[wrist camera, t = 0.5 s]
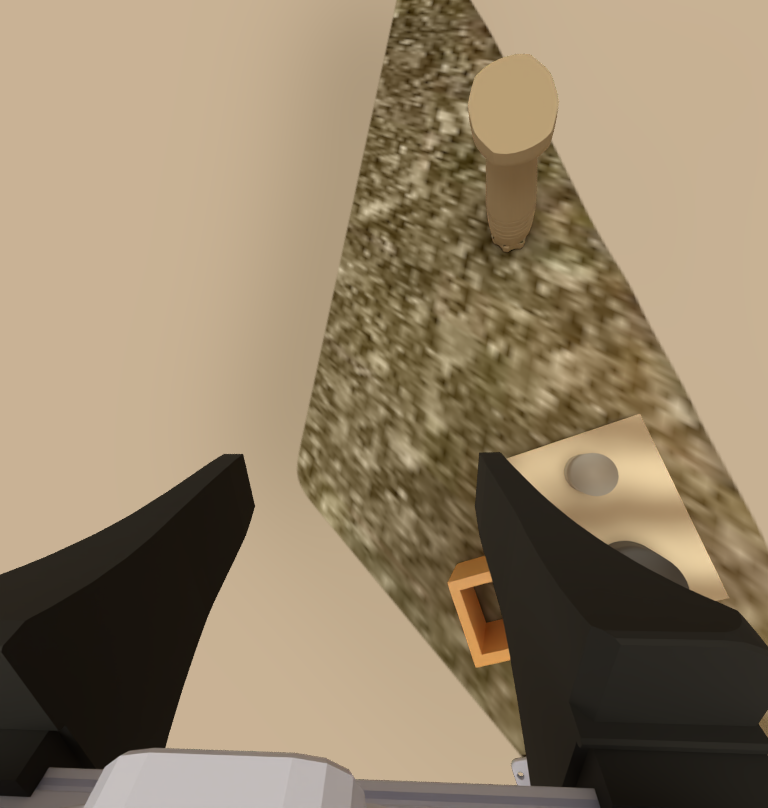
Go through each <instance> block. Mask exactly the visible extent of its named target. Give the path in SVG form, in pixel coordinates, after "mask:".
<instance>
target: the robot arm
mask: <svg viewBox="0 0 768 808" xmlns="http://www.w3.org/2000/svg"><path fill="white" fill-rule="evenodd" d="M254 508H255V504H254V500H253V496H252V491H251V487H250V482H249V478H248V474H247V469H246V465H245V460H244V456H243V454H224V455H222V456H220V457H218V458H217V459H215V460H213V461H212V462H210V463H209V464H207V465H206V466H204V467H203V468H202V469H200V470H199V471H197V472H196V473H194V474H193V475H191V476H190V477H188V478H187V479H185V480H184V481H183V482H181V483H180V484H178V485H177V486H175V487H174V488H172V489H171V490H169V491H168V492H166V493H165V494H163V495H161V496H160V497H158V498H157V499H155V500H153V501H152V502H150V503H149V504H147V505H146V506H144V507H142V508H141V509H139V510H138V511H136V512H134V513H133V514H131V515H129V516H128V517H126V518H124V519H122V520H120V521H119V522H117V523H115V524H113V525H111V526H109V527H107V528H105V529H104V530H102V531H100V532H98V533H96V534H94V535H92V536H90V537H88V538H86V539H83V540H81V541H79V542H77V543H75V544H73V545H70V546H68V547H66V548H64V549H62V550H60V551H58V552H55V553H54V554H51V555H49V556H46V557H44V558H41V559H39V560H37V561H34V562H32V563H29V564H27V565H25V566H22V567H19V568H16V569H14V570H11V571H9V572H6V573H3V574H1V575H0V808H768V755H767V754H768V737H767V736H766V735H765V733H764V732H763V730H762V729H761V727H760V726H759V724H758V723H759V722H760V720H761V719H762V717H763V716H764V714H765V713H766V711H767V710H768V646H767V645H766V644H765V642H764V641H763V640H762V639H761V637H760V636H759V635H758V634H757V632H756V631H755V630H754V629H753V628H752V627H751V625H750V624H749V623H748V622H747V621H746V619H745V618H744V617H743V616H742V615H741V614H740V613H739V612H738V611H737V610H735V609H732V608H730V607H728V606H726V605H723V604H721V603H719V602H717V601H714V600H712V599H710V598H708V597H705V596H703V595H701V594H699V593H696V592H694V591H692V590H690V589H687V588H685V587H683V586H681V585H679V584H677V583H675V582H673V581H671V580H669V579H667V578H665V577H663V576H662V575H660V574H658V573H656V572H654V571H652V570H650V569H648V568H646V567H645V566H643V565H641V564H639V563H637V562H636V561H634V560H632V559H630V558H629V557H627V556H626V555H624V554H622V553H621V552H619V551H617V550H616V549H614V548H612V547H611V546H609V545H608V544H606V543H604V542H603V541H601V540H600V539H598V538H597V537H595V536H594V535H593V534H591V533H590V532H588V531H587V530H586V529H584V528H583V527H581V526H580V525H579V524H577V523H576V522H575V521H573V520H572V519H571V518H569V517H568V516H567V515H566V514H564V513H563V512H562V511H561V510H560V509H558V508H557V507H556V506H555V505H554V504H552V503H551V502H550V501H549V500H548V499H547V498H546V497H544V496H543V495H542V494H541V493H540V492H539V491H538V490H537V489H536V488H535V487H534V486H533V485H532V484H531V483H530V482H529V481H528V480H527V479H526V478H525V477H524V476H523V475H522V474H521V473H520V472H519V471H518V470H517V469H516V468H515V467H514V466H513V465H512V464H511V463H510V462H509V461H508V460H507V459H506V458H505V457H504V456H503V455H502V454H501V453H500V452H493V453H479V464H478V476H477V489H476V501H475V509H476V516H477V523H478V529H479V535H480V539H481V543H482V547H483V550H484V554H485V557H486V561H487V564H488V568H489V571H490V574H491V578H492V581H493V585H494V588H495V592H496V595H497V599H498V602H499V605H500V610H501V614H502V618H503V622H504V627H505V633H506V638H507V643H508V649H509V654H510V660H511V665H512V671H513V677H514V683H515V689H516V694H517V700H518V707H519V713H520V719H521V726H522V732H523V738H524V744H525V751H526V757H521V758H516V759H514V760H513V761H512V771H513V774H514V777H515V779H516V783H517V785H493V784H467V783H440V782H416V781H414V782H413V781H389V780H364V779H355V778H354V776H353V775H352V773H351V772H350V771H349V769H347V768H345V767H343V766H340V765H339V764H337V763H335V762H332V761H330V760H329V759H327V758H323V757H317V756H311V755H305V754H299V753H285V752H256V751H228V750H200V749H199V750H198V749H170V748H165V747H166V743H167V739H168V735H169V732H170V729H171V726H172V722H173V719H174V715H175V712H176V709H177V705H178V702H179V699H180V695H181V693H182V689H183V686H184V683H185V680H186V677H187V674H188V671H189V668H190V665H191V662H192V659H193V656H194V653H195V650H196V647H197V645H198V642H199V639H200V636H201V633H202V631H203V628H204V625H205V622H206V620H207V617H208V615H209V613H210V610H211V608H212V606H213V603H214V601H215V599H216V597H217V595H218V592H219V591H220V588H221V587H222V584H223V582H224V580H225V578H226V576H227V574H228V572H229V570H230V568H231V566H232V564H233V562H234V560H235V557H236V555H237V553H238V551H239V549H240V547H241V544H242V543H243V540H244V538H245V536H246V533H247V530H248V527H249V524H250V521H251V518H252V514H253V511H254ZM518 772H522V773H523V774H524V775H523V776H519V775H518Z"/></svg>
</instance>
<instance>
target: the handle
mask: <svg viewBox="0 0 768 808" xmlns="http://www.w3.org/2000/svg"><path fill="white" fill-rule="evenodd" d="M468 110H469V120H470V126H471V131H472V135H473V139H474V142H475V145H476V147H477V148H478V149H479V151H480V152H481V153H482V155H483V156H484V157H485V158H486V209H487V217H488V222H489V227H490V230H491V237H492V240H493V242H494V244H497V245H499V246H500V247H501V248H502V249H503V251H504V252H509V251H510V250H512V249H517V248H518V249H520V248H522V247H523V246H524V243H525V238H526V236H527V235H528V233H529V231H530V228H531V226H532V222H533V218H534V213H535V208H536V200H537V157H538V156H539V155H541V154H542V153H543V152H544V151H545V150H546V149H547V148H548V147H549V146H550V143H551V139H552V135H553V132H554V127H555V123H556V118H557V112H558V94H557V91H556V87H555V84H554V80H553V78H552V76H551V73H550V72H549V71H548V70H547V68H546V67H545V66H544V65H542V64H541V63H540V62H539V61H538V60H536V59H535V58H534V57H533V56H532V55H530V54H515V55H511V56H507V57H504V58H501V59H499V60H497V61H495V62H493V63H491V64H489V65H488V66H486V67H485V68H484V69H483V70H481V71H480V72H479V73H478V74H477V76H476V77H475V78H474V82H473V85H472V89H471V93H470V97H469V103H468Z"/></svg>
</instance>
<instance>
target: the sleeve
mask: <svg viewBox="0 0 768 808" xmlns="http://www.w3.org/2000/svg"><path fill="white" fill-rule="evenodd" d="M489 582H492V578H491V574H490V571H489V568H488V564H487V561H486V557H485V556H482V557H478V558H475V559H471V560H468V561H464V562H461V563H457V565H456V567H455V569H454V571H453V573H452V575H451V577H450V579H449V581H448V586H449V589H450V592H451V595H452V598H453V601H454V604H455V607H456V610H457V613H458V616H459V619H460V622H461V625H462V628H463V631H464V634H465V637H466V640H467V643H468V646H469V649H470V652H471V655H472V657H473V660H474V663H475V666H476V668H477V667H481V666H486V665H490V664H495V663H499V662H504V661H508V660H510V654H509V649H508V643H507V638H506V633H505V627H504V622H503V619H500V620H496V621H492V622H488V623H486V621H485V618H484V615H483V612H482V609H481V606H480V604H479V601H478V598H477V595H476V592H475V589H474V586H477V585H481V584H485V583H489Z"/></svg>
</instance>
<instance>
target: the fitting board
mask: <svg viewBox="0 0 768 808" xmlns="http://www.w3.org/2000/svg"><path fill="white" fill-rule="evenodd" d="M507 460H508V461H509V462H510V463H511V464H512V465H513V466H514V467H515V468H516V469H517V470H518V471H519V472H520V473H521V474H522V475H523V476H524V477H525V478H526V479H527V480H528V481H529V482H530V483H531V484H532V485H533V486H534V487H535V488H536V489H537V490H538V491H539V492H540V493H541V494H542V495H543V496H544V497H546V498H547V499H548V500H549V501H550V502H551V503H552V504H554V505H555V506H556V507H557V508H558V509H560V510H561V511H562V512H563V513H564V514H566V515H567V516H568V517H569V518H571V519H572V520H573V521H575V522H576V523H577V524H579V525H580V526H581V527H583V528H584V529H586V530H587V531H588V532H590V533H591V534H593V535H594V536H595V537H597V538H598V539H600V540H601V541H603V542H604V543H606V544H608V545H609V546H611V547H612V548H614V549H616V550H617V551H619V552H621V553H622V554H624V555H626V556H627V557H629V558H630V559H632V560H634V561H636V562H637V563H639V564H641V565H643V566H645V567H646V568H648V569H650V570H652V571H654V572H656V573H658V574H660V575H662V576H663V577H665V578H667V579H669V580H671V581H673V582H675V583H677V584H679V585H681V586H683V587H685V588H687V589H690V590H692V591H694V592H696V593H699V594H701V595H703V596H705V597H708V598H710V599H712V600H714V601H718V600H722V599H727V598H729V597H728V595H727V593H726V590H725V588H724V586H723V584H722V582H721V580H720V578H719V576H718V574H717V572H716V570H715V568H714V566H713V564H712V562H711V560H710V557H709V555H708V553H707V551H706V549H705V547H704V545H703V543H702V541H701V539H700V537H699V535H698V533H697V531H696V529H695V527H694V524H693V522H692V520H691V518H690V516H689V514H688V512H687V510H686V508H685V506H684V504H683V502H682V500H681V498H680V496H679V494H678V491H677V489H676V487H675V485H674V483H673V481H672V479H671V477H670V475H669V473H668V471H667V469H666V467H665V465H664V463H663V461H662V458H661V456H660V454H659V452H658V450H657V448H656V446H655V444H654V442H653V440H652V438H651V436H650V434H649V432H648V430H647V428H646V425H645V423H644V421H643V419H642V417H641V415H640V414H638V415H635V416H632V417H629V418H626V419H623V420H620V421H617V422H614V423H611V424H608V425H605V426H602V427H599V428H596V429H593V430H590V431H587V432H584V433H581V434H578V435H575V436H572V437H569V438H566V439H563V440H560V441H557V442H554V443H551V444H548V445H546V446H543V447H540V448H537V449H534V450H531V451H528V452H525V453H522V454H519V455H516V456H513V457H510V458H507Z"/></svg>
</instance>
